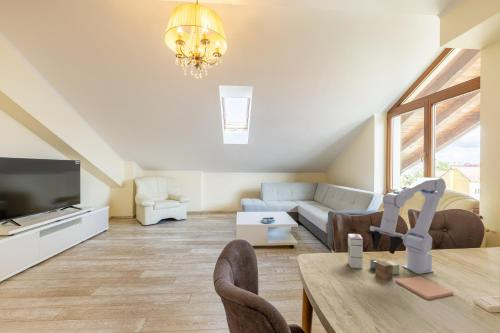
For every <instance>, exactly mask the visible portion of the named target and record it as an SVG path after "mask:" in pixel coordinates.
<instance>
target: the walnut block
mask: <svg viewBox="0 0 500 333" xmlns="http://www.w3.org/2000/svg"><path fill="white" fill-rule="evenodd" d="M388 262H389V261H385V260H378V262H376V271H375V276H376V277H378V278H379V279H381V280H382V281H388V280H393V275H394V274H393V265H392V264H390V263H388Z"/></svg>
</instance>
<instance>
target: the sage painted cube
mask: <svg viewBox="0 0 500 333" xmlns="http://www.w3.org/2000/svg"><path fill="white" fill-rule="evenodd" d="M387 262H388V263H390V264H392V265H393V275H397V274H400V264H398V263H396V262H394V261H387Z"/></svg>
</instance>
